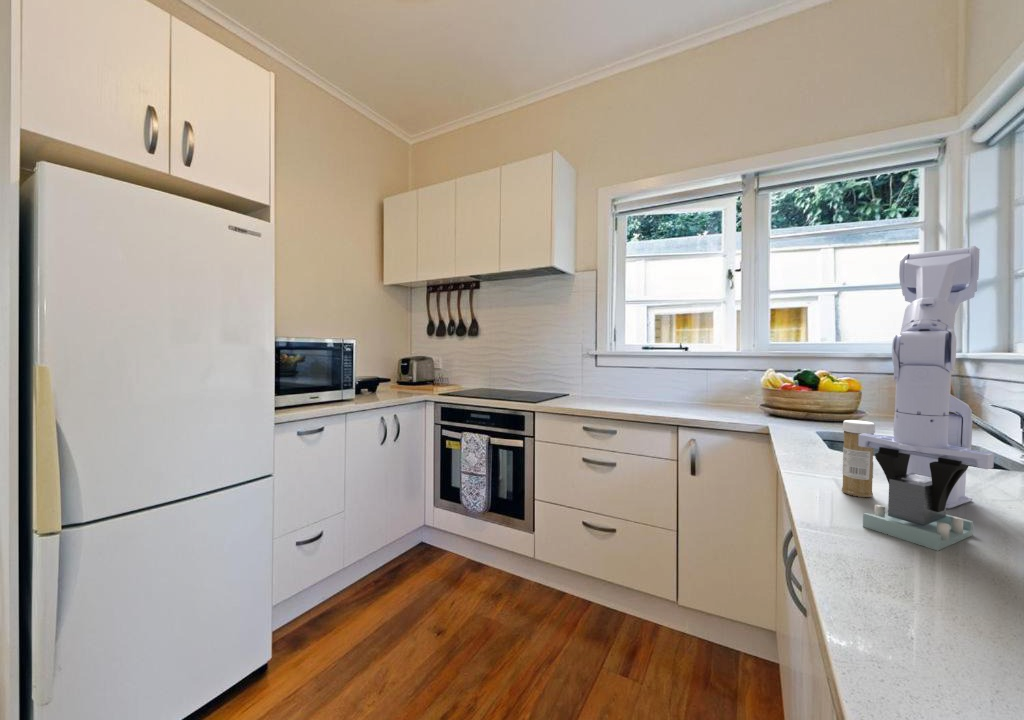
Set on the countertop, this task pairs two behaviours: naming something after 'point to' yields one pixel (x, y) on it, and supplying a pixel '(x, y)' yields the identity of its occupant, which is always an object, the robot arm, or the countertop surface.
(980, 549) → the countertop surface
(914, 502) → the dark grey block
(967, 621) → the countertop surface
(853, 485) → the sprinkles bottle
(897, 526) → the tray
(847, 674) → the countertop surface
